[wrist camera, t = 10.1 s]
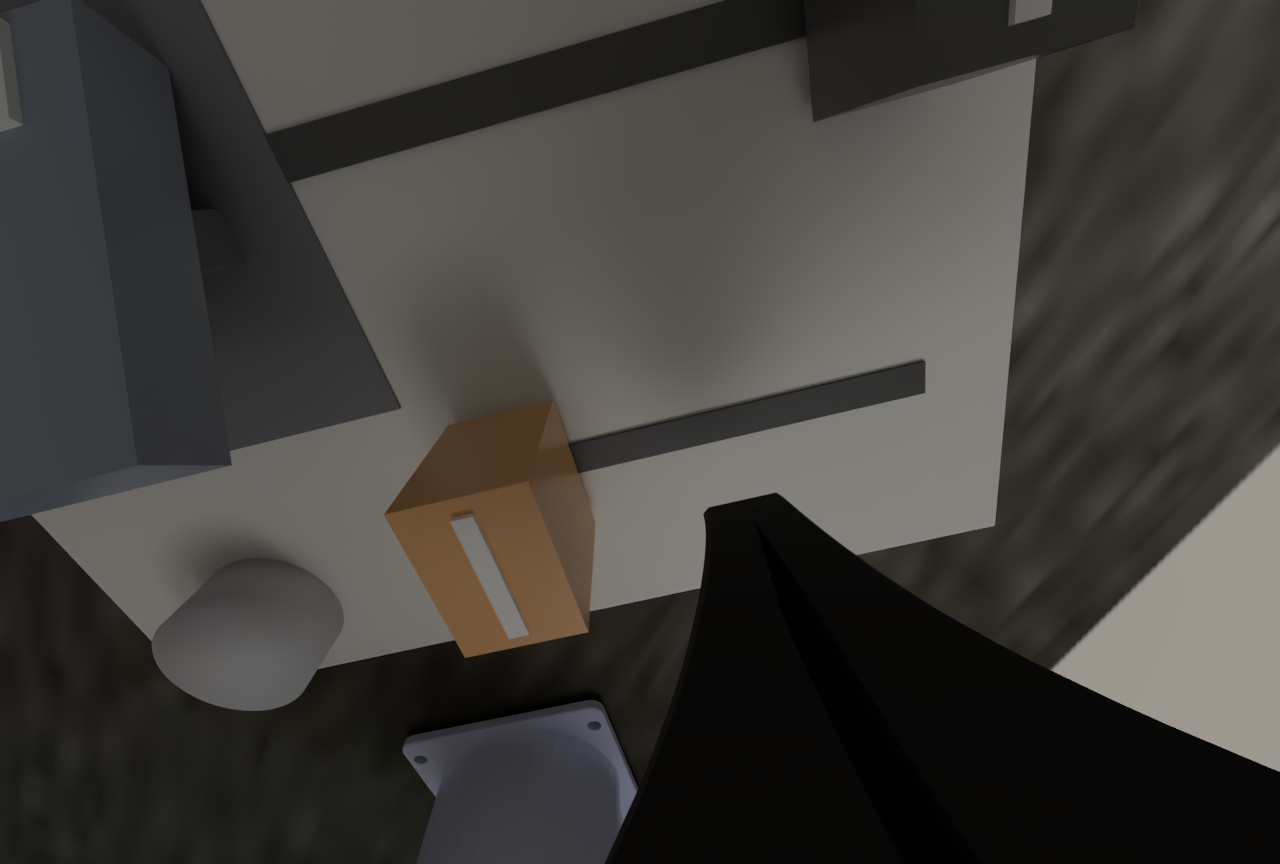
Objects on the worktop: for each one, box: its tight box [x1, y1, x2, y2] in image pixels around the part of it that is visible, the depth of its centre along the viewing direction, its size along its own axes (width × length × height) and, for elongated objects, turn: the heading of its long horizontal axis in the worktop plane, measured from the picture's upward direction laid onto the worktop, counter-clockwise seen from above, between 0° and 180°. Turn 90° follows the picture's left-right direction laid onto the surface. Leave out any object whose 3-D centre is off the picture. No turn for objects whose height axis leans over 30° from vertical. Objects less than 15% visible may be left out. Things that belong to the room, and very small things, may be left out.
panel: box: [0, 0, 1036, 711], centre depth 11 cm, size 16×24×4 cm, turn 104°
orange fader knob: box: [384, 400, 596, 658], centre depth 11 cm, size 4×2×4 cm
